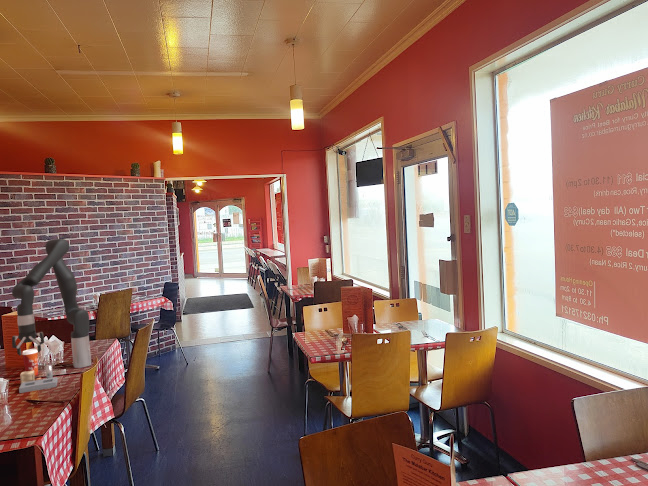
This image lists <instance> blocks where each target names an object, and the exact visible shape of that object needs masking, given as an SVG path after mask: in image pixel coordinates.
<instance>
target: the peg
mask: <svg viewBox="0 0 648 486" xmlns="http://www.w3.org/2000/svg"><path fill="white" fill-rule="evenodd" d="M44 367H45V375H46V376H45V377H46V378H45V379H48V378H53V377H54V373H53V365H52V364H47V365H45V366H44Z"/></svg>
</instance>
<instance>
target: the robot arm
mask: <svg viewBox="0 0 648 486" xmlns="http://www.w3.org/2000/svg"><path fill="white" fill-rule="evenodd" d="M70 247H71V245H70V243H69V241H68V240H67V239H64V238H54V239H50V240H48V241H46V243H45V253H46V254H47V256H46V257H45V258H43V259H42V260H40V262H38V263H37V264H36V265H34V267H32V268H31V270H30V271H29V272H28V273H27V274H26V276H25V277H23V278H22V279H21V280H20V281H19V282H18V283H16V284H15V286H14V287H13V289H12V290H11V294H12V295H11V296H12V297H13V298H14V299H18V300H20V303H19V304H17V306H16V312H17V315H16V316H17V329H18V335H13V336H12V337H11V345H12V346H11V348H12V349H16V352H17V355H18V356H19V357H20V356H22V349H21V346H22V344H23V343H24V344H26V343H27V344H28V343H32V342H33V343H35V345H37V348H36V349H37V351H38V353H40V352H41V351H42V345H43V344H44V343H45V338H44V332H43V331H40V332H36V331H37V329H36V322H35V316H34V309H33V304H34V300H35V299H34V298H35V290H34V288H33V287H36V286H38V285H39V284H40V282H41V281H42V280H43V278H44V277H45V276H46V275H47V274H48V272H49V271H50V270H51V269H53V273H54V275H55V278H56V279H55V280H56V283H57V285H58V286H57V287H58V288H59V293H60V296H61V299H62V302H63V306H64V311H65V317H66V321H67V322H68V323H69V324H71V325H73V331H71V333H70V338H71V340H70V341H71V343H70V344H71V351H72V352H71V353H72V362H73V363H72V365H73V368H76V369H78V368H85V367H88V366H89V367H90V366H92V356H91V354H92V353H91V347H90V336H89V333H90V329H91V328H90V323H91V322H90V314H89V312H88V310H85V309H81V308H80V307H79V305H78V301H77V295H78V294H77V293H78V283H77V280H76V277H75V275H74V272H73V271H72V270H71V269H70V268H69V267H68V265H67V264H66V263H65V261H64V258H63V257H64V256H65V255H66V254H67V253H68V252H69V250H70ZM37 336H38V338H39V337H40V341H39V339H37V338H36V337H37ZM17 339H19V341H20V342H19V343H18V344H16V341H17Z"/></svg>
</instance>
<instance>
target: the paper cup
mask: <svg viewBox="0 0 648 486" xmlns="http://www.w3.org/2000/svg"><path fill="white" fill-rule="evenodd" d="M21 356H22V357H23V364H24V372H26V371H32V370H34V374H35V377H36V376H38V375H39V361H38V358H39V356H38V348H30V349H26V350H23V351H22V352H21Z"/></svg>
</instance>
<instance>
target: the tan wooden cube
mask: <svg viewBox="0 0 648 486" xmlns="http://www.w3.org/2000/svg"><path fill="white" fill-rule="evenodd" d="M35 379H36V376H35V374H34V370H32V371H22V372H21V373H20V385H21V384H22V383H24V382H30V381H36V380H35Z"/></svg>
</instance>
